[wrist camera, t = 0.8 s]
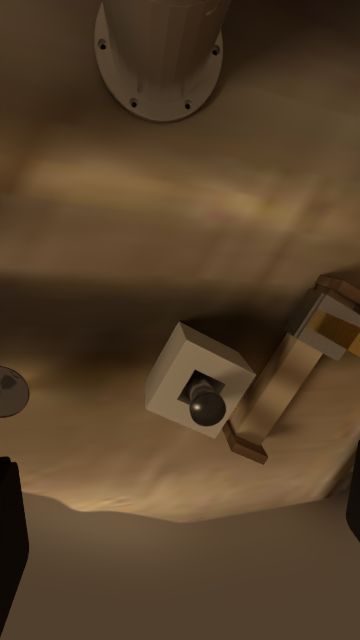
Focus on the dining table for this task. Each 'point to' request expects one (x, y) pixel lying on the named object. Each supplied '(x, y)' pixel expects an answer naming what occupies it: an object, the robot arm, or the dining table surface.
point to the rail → (279, 382)
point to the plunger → (204, 400)
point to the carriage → (325, 325)
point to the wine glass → (12, 393)
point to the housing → (177, 367)
